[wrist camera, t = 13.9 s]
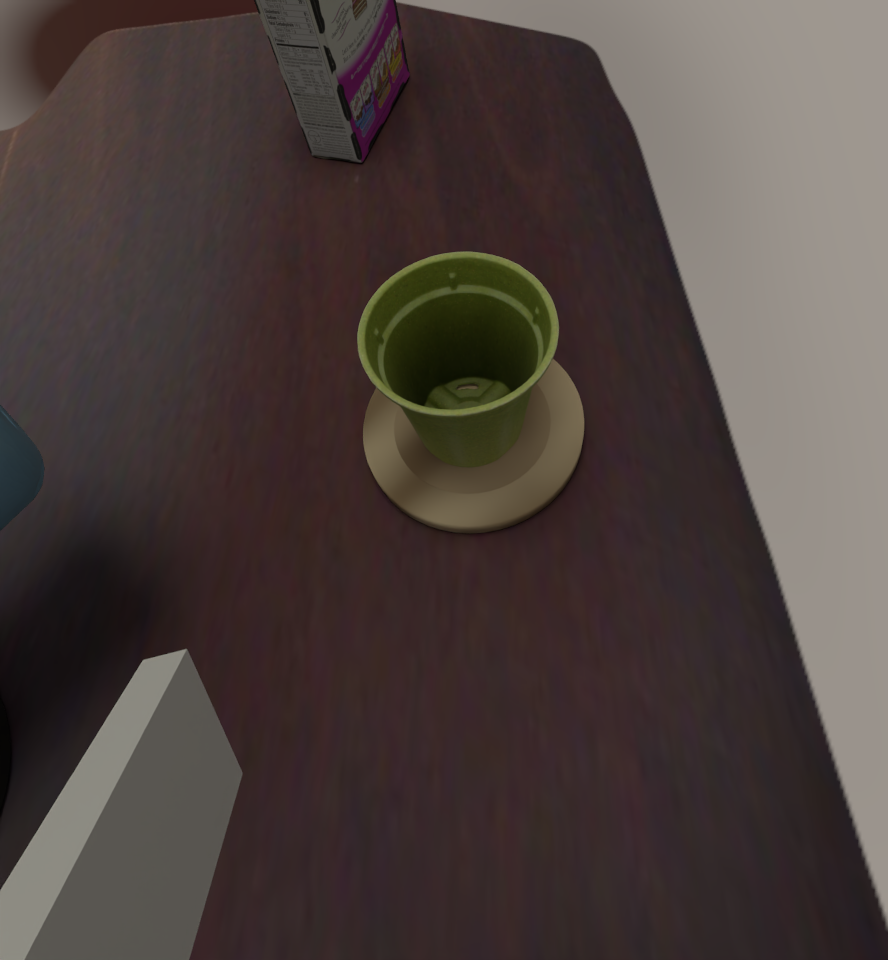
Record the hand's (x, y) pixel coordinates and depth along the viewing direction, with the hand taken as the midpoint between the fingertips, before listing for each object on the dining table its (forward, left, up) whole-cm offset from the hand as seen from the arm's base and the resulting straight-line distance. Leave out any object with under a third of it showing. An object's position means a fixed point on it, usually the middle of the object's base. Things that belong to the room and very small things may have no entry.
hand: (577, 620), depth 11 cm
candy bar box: (-36, +33, -22) cm, 54 cm away
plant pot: (-12, +12, -21) cm, 27 cm away
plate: (-12, +12, -22) cm, 28 cm away
